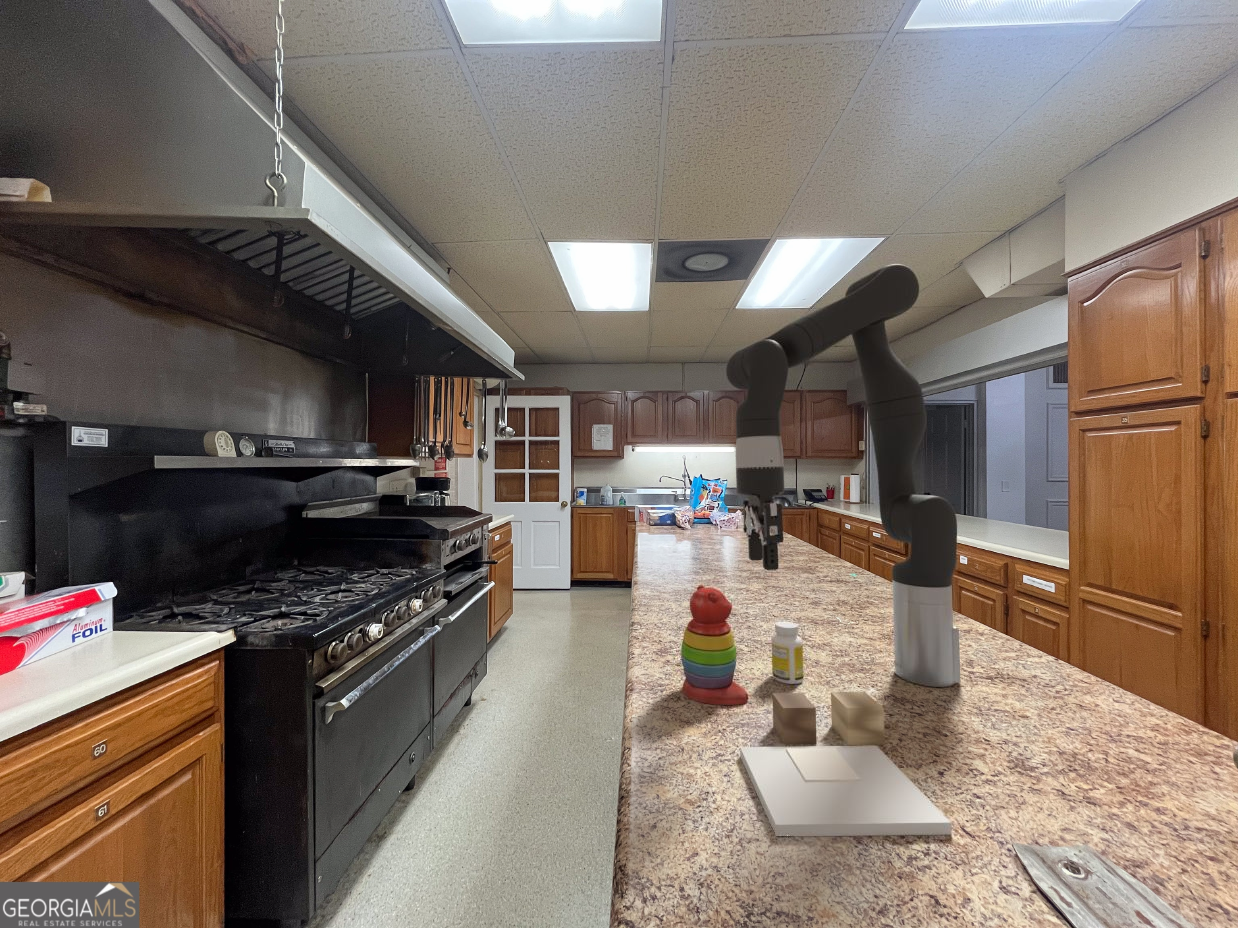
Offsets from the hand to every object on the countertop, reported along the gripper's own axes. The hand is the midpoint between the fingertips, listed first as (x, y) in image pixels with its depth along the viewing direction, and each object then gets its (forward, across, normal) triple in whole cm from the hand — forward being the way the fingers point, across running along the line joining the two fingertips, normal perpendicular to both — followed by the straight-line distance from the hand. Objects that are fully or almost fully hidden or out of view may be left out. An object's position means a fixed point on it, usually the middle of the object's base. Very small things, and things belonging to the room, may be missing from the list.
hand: (762, 564), depth 77 cm
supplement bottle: (+23, +10, -7) cm, 26 cm away
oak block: (+23, -9, -10) cm, 26 cm away
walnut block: (+23, -9, -1) cm, 24 cm away
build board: (+22, -21, -1) cm, 31 cm away
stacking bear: (+23, +5, +8) cm, 25 cm away
